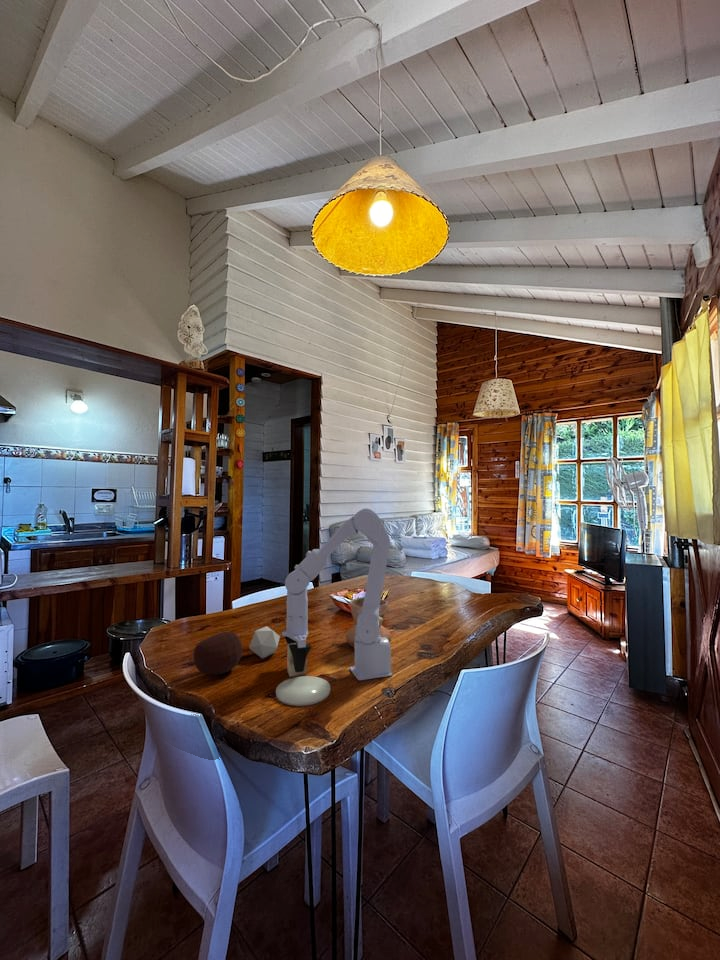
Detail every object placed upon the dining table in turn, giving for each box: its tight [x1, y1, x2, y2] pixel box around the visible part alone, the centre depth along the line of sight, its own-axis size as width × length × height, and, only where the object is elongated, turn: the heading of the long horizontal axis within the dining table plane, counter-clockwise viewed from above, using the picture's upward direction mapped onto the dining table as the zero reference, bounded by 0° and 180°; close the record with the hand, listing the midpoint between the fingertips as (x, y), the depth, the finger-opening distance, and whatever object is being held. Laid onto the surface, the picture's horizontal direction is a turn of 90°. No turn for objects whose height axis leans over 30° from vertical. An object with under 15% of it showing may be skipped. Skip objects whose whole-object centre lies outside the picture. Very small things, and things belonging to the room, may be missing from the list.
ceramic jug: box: [345, 596, 392, 649], centre depth 128 cm, size 18×14×14 cm
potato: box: [192, 631, 243, 676], centre depth 108 cm, size 11×13×10 cm
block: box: [286, 643, 308, 678], centre depth 108 cm, size 4×4×7 cm
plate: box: [275, 675, 331, 707], centre depth 97 cm, size 13×13×1 cm
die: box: [248, 626, 281, 660], centre depth 120 cm, size 8×9×10 cm
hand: (296, 665), depth 108 cm, fingers open, 7 cm apart
